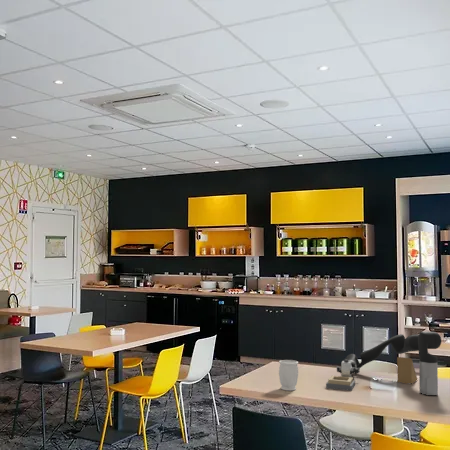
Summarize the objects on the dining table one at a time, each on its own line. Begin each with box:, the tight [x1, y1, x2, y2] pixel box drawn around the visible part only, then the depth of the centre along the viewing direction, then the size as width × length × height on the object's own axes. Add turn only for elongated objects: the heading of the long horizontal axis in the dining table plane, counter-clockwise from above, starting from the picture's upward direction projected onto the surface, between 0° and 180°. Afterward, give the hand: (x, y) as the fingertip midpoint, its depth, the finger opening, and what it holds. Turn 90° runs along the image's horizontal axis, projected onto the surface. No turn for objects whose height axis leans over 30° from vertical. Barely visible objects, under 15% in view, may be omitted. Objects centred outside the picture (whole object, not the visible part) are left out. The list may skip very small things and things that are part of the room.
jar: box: [278, 359, 299, 392], centre depth 294 cm, size 11×10×15 cm
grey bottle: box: [340, 359, 352, 377], centre depth 313 cm, size 5×5×13 cm
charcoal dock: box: [325, 375, 356, 392], centre depth 302 cm, size 14×14×4 cm
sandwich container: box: [396, 356, 418, 384], centre depth 322 cm, size 9×15×15 cm, turn 147°
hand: (345, 372), depth 310 cm, fingers closed on grey bottle, 5 cm apart
